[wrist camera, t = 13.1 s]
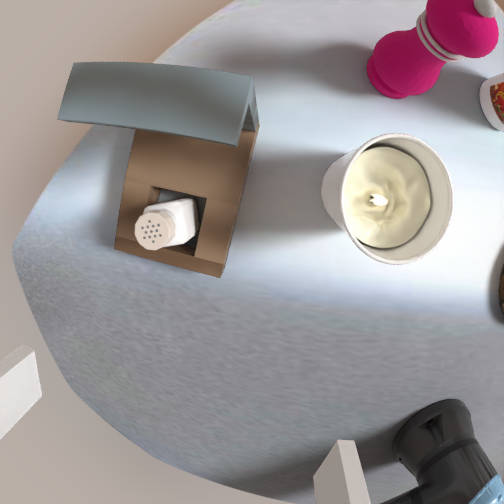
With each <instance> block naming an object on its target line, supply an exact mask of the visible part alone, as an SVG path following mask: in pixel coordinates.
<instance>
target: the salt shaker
mask: <svg viewBox="0 0 504 504" xmlns="http://www.w3.org/2000/svg"><path fill="white" fill-rule="evenodd" d="M199 231H200V223H199V217H198V211H197V205H196V201H195V199H194V198H191V197H188V198H182V199H177V200H171V201H166V202H162V203H158V204H154V205H150V206H147V207H146V208H145V209H144V212H143V215H141V216H140V217H139V219H138V220H137V222H136V224H135V236H136V238H137V241H138V243H139V244H140V245H142V246H143V247H144V248H145V249H148V250H158V249H160V248H162V247H167V246H174V245H179V244H184V243H185V242H187V241H188V240H189V239H191V238H192V237H193V236H194V235H196V234H197V233H198V232H199Z"/></svg>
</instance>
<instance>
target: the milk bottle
mask: <svg viewBox="0 0 504 504" xmlns="http://www.w3.org/2000/svg"><path fill="white" fill-rule="evenodd" d="M479 98H480V104H481V107H482V110H483V113H484V115H485V117H486V118H487V120H488V121H489V122H490V124H491V125H492V126H493V127H495V128H496V129H498V130H500V131H503V132H504V73H503V74H500V75H497V76H495V77H492V78H489V79H487V80H485V81H484V82H483V83H482V85H481V87H480V91H479Z"/></svg>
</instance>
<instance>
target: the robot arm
mask: <svg viewBox="0 0 504 504" xmlns="http://www.w3.org/2000/svg"><path fill="white" fill-rule="evenodd" d="M41 396H42V392H41V387H40V381H39V376H38V371H37V365H36V358H35V352H34V350H32V349H30V348H29V347H27V346H25V345H24V344H22V345H21V346H19V347H18V348H17V349H15V350H14V351H13V352H11V353H10V354H9V355H7V356H6V357H5V358H3V359H2V360H1V361H0V440H1V439H2V437H3V436H4V435H5V434H6V433H7V432H8V431H9V430H10V429H11V428H12V426H14V425H15V424H16V422H17V421H18V420H19V419H20V418H21V417H22V416H23V415H24V414H25V413H26V412H27V411H28V410H29V409H30V408H31V407H32V406H33V405H34V404H35V403H36V402H37V400H38V399H39V398H40V397H41ZM393 450H394V452H395V455H396V457H397V459H398V461H399V462H400V463H401V464H403V465H404V466H405V467H406V468H407V469H408V470H409V471H410V472H411V473H412V474H413V475H414V476H415V477H416V480H417V482H418V485H419V486H418V487H416V488H414V489H412V490H410V491H407V492H405V493H403V494H401V495H399V496H397V497H394V498H392V499H390V500H388V501H385V502H383V503H381V504H503V502H504V485H503V483H502V481H501V476H500V475H499V474H498V473H497V472H496V470H495V468H494V467H493V465H492V464H491V462H490V460H489V459H488V457H487V456H486V454H485V453H484V451H483V449H482V448H481V446H480V445H479V443H478V442H477V440H476V439H475V435H474V430H473V426H472V422H471V416H470V412H469V410H468V409H467V407H466V406H465V404H464V403H463V402H462V401H460V400H457V399H448V400H444V401H440V402H438V403H435V404H433V405H431V406H429V407H427V408H425V409H424V410H422V411H421V412H419V413H418V414H416V415H415V416H414V417H412V418H411V419H410V420H409V421H408V422H407V423H406V424H405V425H404V426H403V427H402V428H401V429H400V431H399V432H398V434H397V435H396V437H395V439H394V442H393ZM313 480H314V490H315V500H316V504H371V503H370V499H369V495H368V491H367V487H366V483H365V479H364V475H363V471H362V467H361V464H360V460H359V456H358V452H357V449H356V445H355V441H350V440H337V441H336V443H335V444H334V446H333V447H332V449H331V451H330V452H329V454H328V455H327V457H326V458H325V460H324V461H323V463H322V464H321V466H320V467H319V469H318V470H317V472H316V473H315V475H314V476H313Z"/></svg>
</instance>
